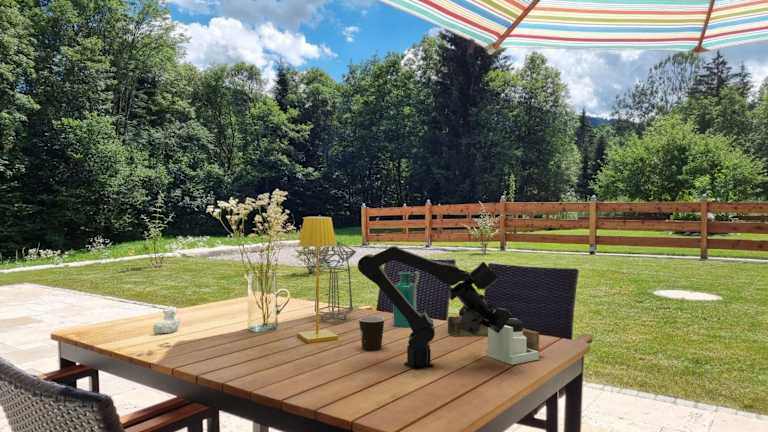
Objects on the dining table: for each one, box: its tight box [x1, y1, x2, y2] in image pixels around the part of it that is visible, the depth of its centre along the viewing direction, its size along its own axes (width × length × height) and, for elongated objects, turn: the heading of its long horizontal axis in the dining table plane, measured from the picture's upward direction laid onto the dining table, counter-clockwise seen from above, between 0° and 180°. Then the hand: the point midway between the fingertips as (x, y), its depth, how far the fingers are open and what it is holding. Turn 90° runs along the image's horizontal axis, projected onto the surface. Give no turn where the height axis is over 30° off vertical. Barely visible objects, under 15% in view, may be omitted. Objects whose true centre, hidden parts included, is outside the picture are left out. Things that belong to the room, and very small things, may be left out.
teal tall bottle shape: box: [392, 271, 420, 328], centre depth 204 cm, size 10×8×22 cm
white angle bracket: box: [485, 325, 540, 366], centre depth 158 cm, size 12×12×11 cm
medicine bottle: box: [505, 318, 527, 355], centre depth 158 cm, size 7×7×12 cm
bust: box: [152, 305, 181, 335], centre depth 191 cm, size 12×8×11 cm
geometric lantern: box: [309, 239, 357, 324], centre depth 211 cm, size 16×16×35 cm
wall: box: [522, 327, 540, 353], centre depth 161 cm, size 2×8×8 cm, turn 30°
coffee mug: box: [358, 316, 385, 352], centre depth 170 cm, size 12×9×10 cm
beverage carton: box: [447, 315, 488, 337], centre depth 189 cm, size 8×19×7 cm, turn 94°
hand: (498, 331), depth 155 cm, fingers closed, pressing on white angle bracket
